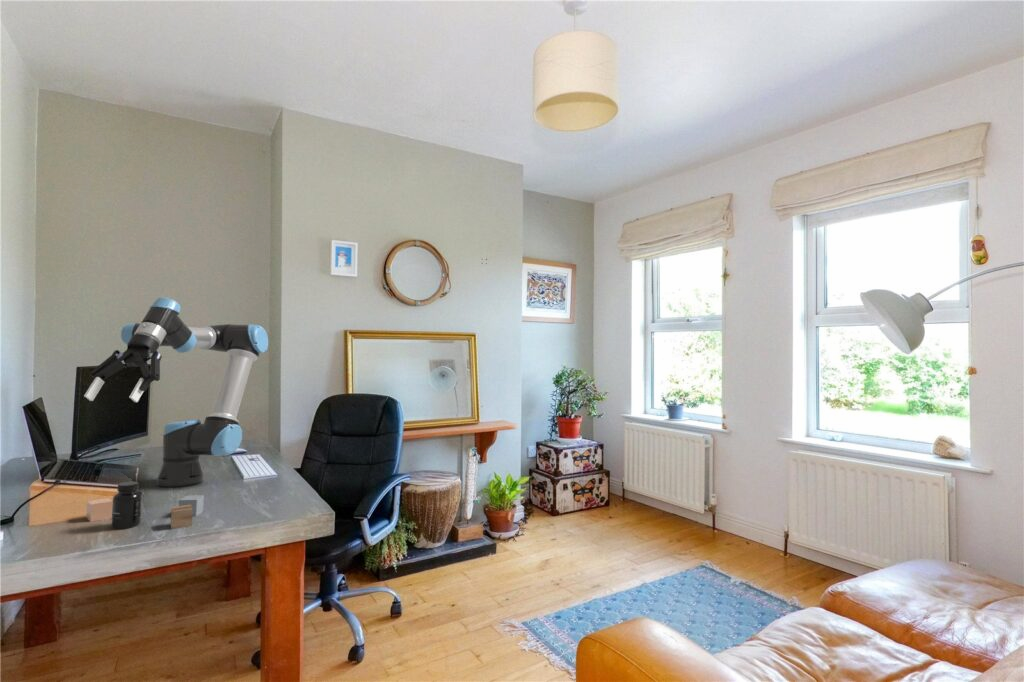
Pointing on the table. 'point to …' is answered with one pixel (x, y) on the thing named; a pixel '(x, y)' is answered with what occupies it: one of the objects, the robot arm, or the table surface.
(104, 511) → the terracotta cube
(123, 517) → the supplement bottle
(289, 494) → the table surface
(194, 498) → the slate grey cube
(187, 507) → the walnut cube
